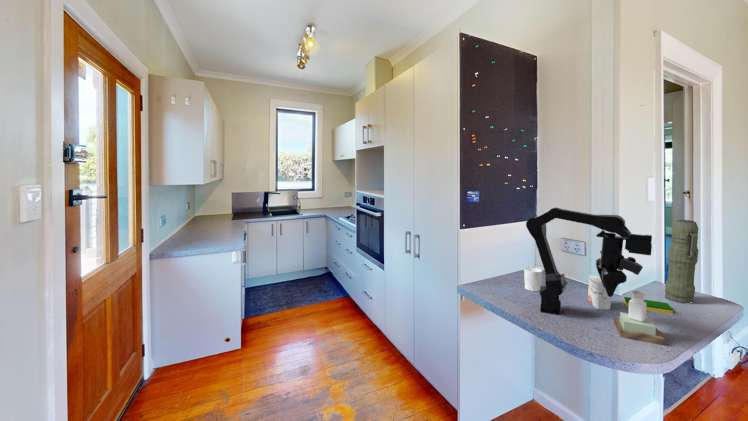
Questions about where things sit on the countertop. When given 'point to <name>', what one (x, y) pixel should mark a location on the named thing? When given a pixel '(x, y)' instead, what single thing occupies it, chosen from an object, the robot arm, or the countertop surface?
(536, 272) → the white cup
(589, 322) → the countertop surface
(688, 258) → the thermos
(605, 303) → the ink cartridge box
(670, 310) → the dish sponge
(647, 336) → the tower base block
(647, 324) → the tower top block
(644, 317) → the pepper shaker
